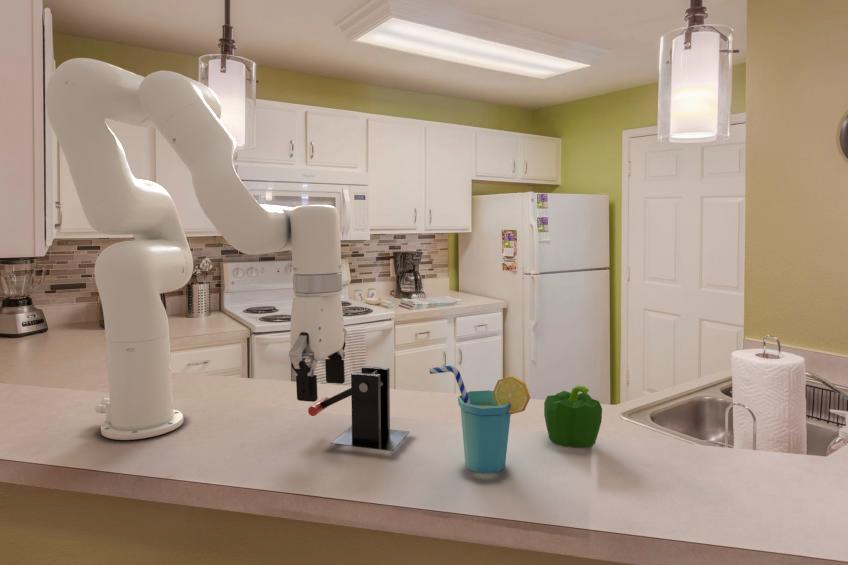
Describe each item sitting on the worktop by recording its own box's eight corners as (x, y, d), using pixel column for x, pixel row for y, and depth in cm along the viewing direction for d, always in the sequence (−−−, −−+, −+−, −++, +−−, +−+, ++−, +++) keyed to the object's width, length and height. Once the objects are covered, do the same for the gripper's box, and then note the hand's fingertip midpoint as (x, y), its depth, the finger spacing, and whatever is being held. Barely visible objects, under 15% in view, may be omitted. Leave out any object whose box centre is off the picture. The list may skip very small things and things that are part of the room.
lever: (311, 420, 89) (305, 406, 89) (326, 410, 94) (319, 396, 94) (375, 390, 86) (368, 376, 86) (387, 381, 90) (380, 367, 91)
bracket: (331, 450, 87) (329, 375, 86) (352, 432, 95) (351, 362, 94) (392, 458, 84) (392, 380, 83) (409, 438, 92) (409, 366, 91)
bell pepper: (535, 438, 92) (536, 377, 91) (582, 434, 94) (584, 374, 93) (558, 459, 84) (560, 393, 83) (609, 455, 85) (612, 389, 84)
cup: (423, 479, 78) (422, 371, 76) (435, 456, 85) (435, 357, 83) (527, 490, 74) (529, 377, 73) (530, 465, 82) (532, 363, 80)
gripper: (321, 278, 99) (325, 375, 101) (266, 291, 82) (272, 406, 84) (361, 279, 97) (364, 378, 98) (313, 291, 80) (318, 410, 82)
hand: (322, 391), depth 91 cm, fingers open, 9 cm apart
